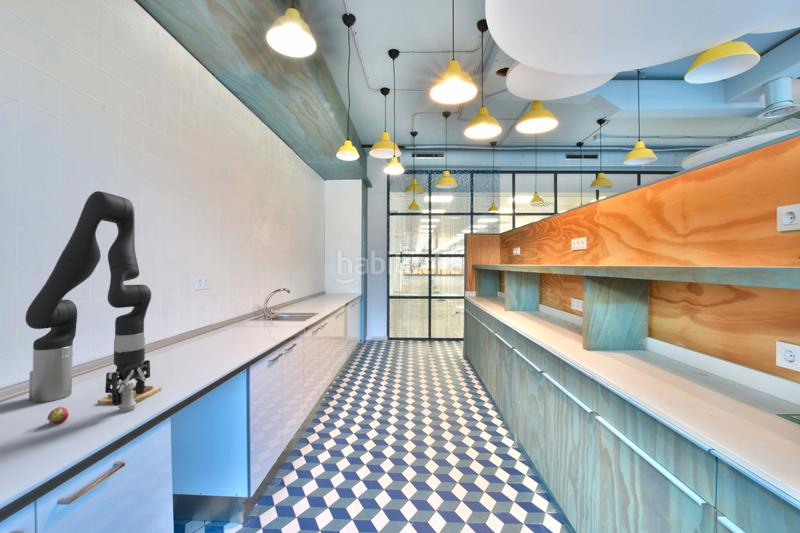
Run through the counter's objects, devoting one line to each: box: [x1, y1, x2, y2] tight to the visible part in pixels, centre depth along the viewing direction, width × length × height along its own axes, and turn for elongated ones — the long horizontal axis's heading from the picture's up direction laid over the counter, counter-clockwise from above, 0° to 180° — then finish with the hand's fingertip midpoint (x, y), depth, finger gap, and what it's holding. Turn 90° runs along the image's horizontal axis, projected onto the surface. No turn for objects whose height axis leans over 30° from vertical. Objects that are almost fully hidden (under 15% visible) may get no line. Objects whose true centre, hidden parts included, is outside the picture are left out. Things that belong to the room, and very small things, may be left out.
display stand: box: [97, 385, 162, 405], centre depth 111 cm, size 12×12×2 cm
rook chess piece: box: [117, 382, 137, 413], centre depth 101 cm, size 4×4×8 cm
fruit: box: [45, 406, 69, 425], centre depth 93 cm, size 4×6×5 cm
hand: (129, 398), depth 101 cm, fingers open, 8 cm apart
